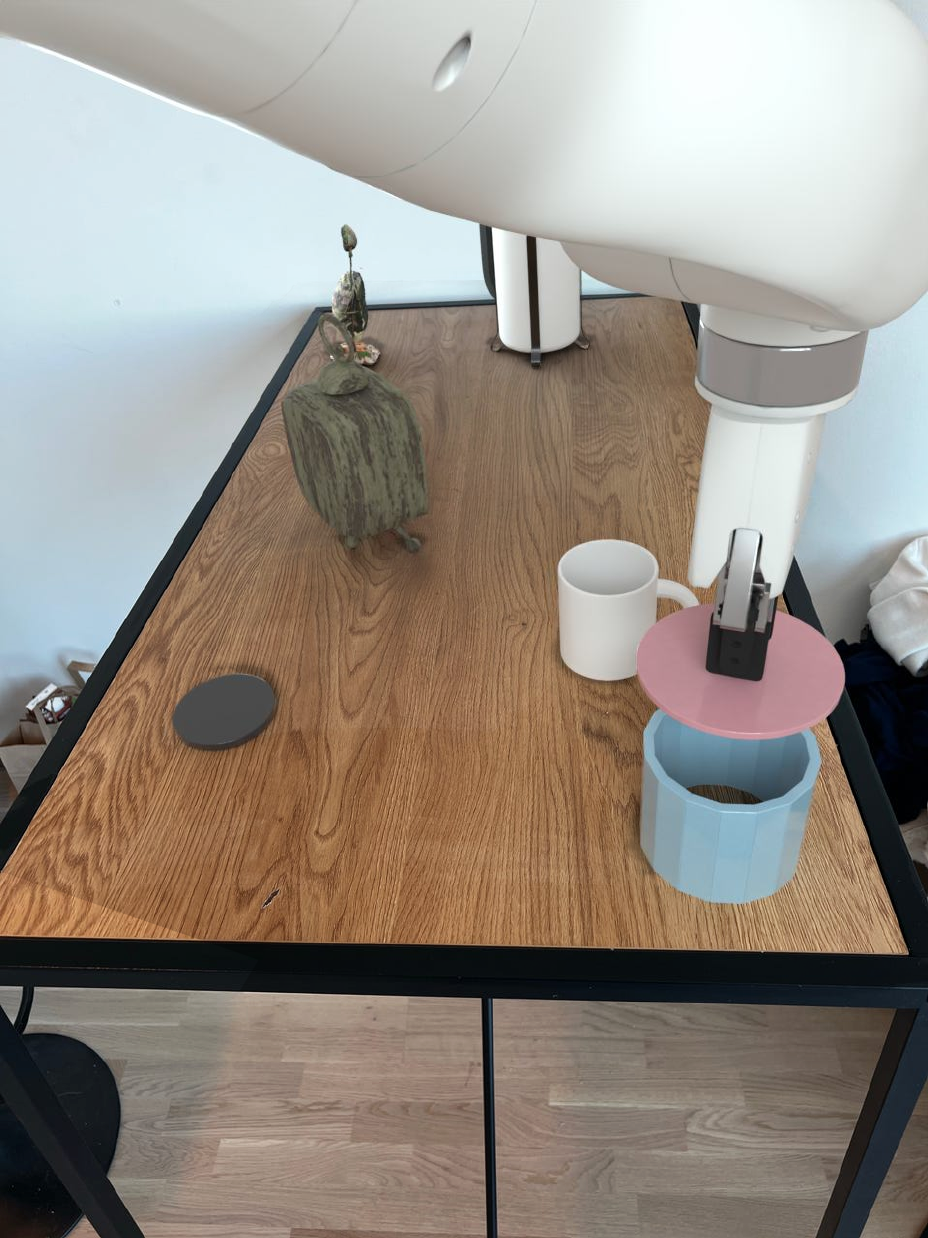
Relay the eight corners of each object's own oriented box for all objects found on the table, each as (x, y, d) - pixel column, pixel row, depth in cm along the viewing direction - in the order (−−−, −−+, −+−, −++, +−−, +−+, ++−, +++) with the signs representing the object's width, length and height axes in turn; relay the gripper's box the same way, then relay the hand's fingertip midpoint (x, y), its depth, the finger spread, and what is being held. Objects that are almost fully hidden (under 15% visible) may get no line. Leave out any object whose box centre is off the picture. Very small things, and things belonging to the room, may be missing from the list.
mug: (696, 635, 86) (704, 541, 79) (697, 697, 79) (706, 601, 73) (565, 629, 88) (563, 537, 82) (555, 688, 82) (552, 594, 75)
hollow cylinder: (810, 919, 62) (835, 815, 56) (641, 910, 64) (646, 809, 57) (785, 792, 71) (804, 689, 64) (637, 787, 72) (641, 687, 66)
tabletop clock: (437, 553, 100) (408, 324, 84) (362, 585, 96) (317, 353, 81) (373, 499, 110) (337, 286, 94) (304, 527, 106) (254, 310, 91)
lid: (861, 751, 51) (887, 650, 47) (637, 744, 53) (642, 647, 48) (822, 616, 60) (840, 522, 56) (633, 614, 62) (636, 523, 58)
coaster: (241, 761, 78) (239, 754, 78) (154, 738, 81) (151, 731, 81) (295, 690, 85) (293, 683, 84) (212, 672, 88) (210, 665, 87)
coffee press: (597, 326, 145) (596, 110, 127) (583, 369, 133) (581, 137, 115) (487, 326, 149) (472, 117, 131) (465, 368, 137) (444, 144, 119)
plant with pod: (388, 340, 148) (369, 207, 136) (375, 370, 139) (354, 231, 127) (338, 343, 149) (314, 211, 137) (322, 372, 140) (296, 234, 128)
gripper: (726, 292, 51) (701, 568, 63) (661, 423, 40) (644, 734, 51) (873, 300, 49) (819, 586, 60) (849, 442, 37) (788, 765, 48)
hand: (739, 651), depth 55 cm, fingers closed on lid, 3 cm apart
